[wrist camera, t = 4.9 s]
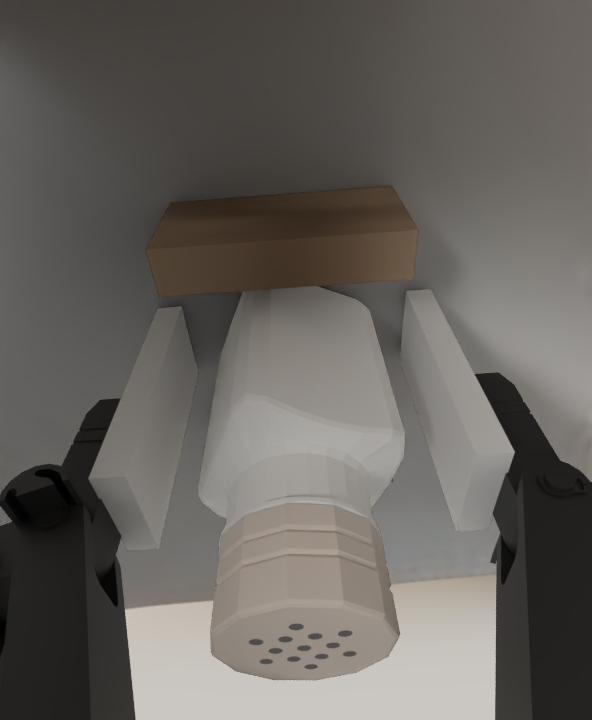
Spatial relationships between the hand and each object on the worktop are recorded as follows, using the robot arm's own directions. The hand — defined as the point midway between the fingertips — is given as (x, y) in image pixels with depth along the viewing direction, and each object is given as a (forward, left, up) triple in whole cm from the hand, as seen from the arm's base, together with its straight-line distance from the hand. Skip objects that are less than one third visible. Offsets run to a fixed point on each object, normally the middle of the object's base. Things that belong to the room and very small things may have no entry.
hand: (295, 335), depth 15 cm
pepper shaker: (0, 0, 0) cm, 0 cm away
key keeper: (0, 0, 0) cm, 0 cm away
